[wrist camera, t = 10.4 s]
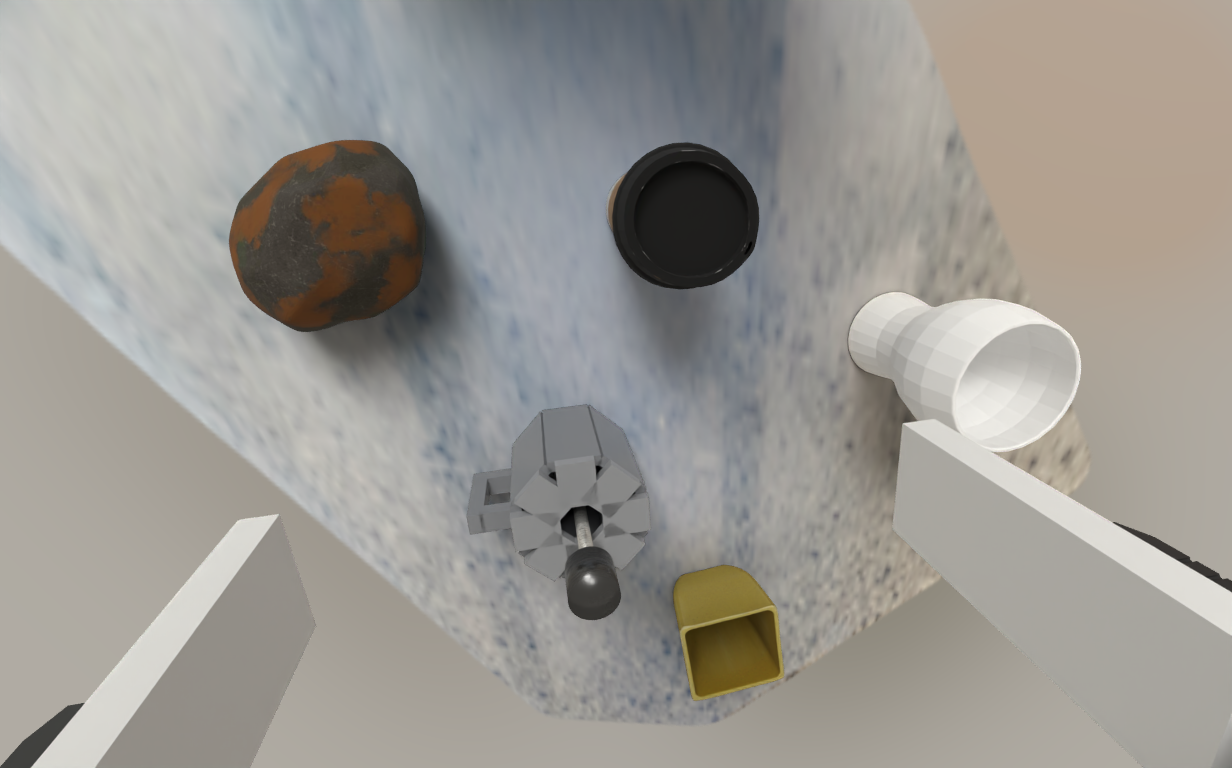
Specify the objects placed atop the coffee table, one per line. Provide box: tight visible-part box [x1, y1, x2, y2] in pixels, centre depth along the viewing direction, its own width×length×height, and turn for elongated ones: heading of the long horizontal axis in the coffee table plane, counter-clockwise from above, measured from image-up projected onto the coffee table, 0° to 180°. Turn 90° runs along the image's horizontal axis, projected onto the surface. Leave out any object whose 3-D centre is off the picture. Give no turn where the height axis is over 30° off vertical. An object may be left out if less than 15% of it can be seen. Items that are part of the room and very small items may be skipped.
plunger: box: [548, 465, 621, 620], centre depth 43 cm, size 6×6×17 cm
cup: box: [848, 292, 1081, 452], centre depth 46 cm, size 11×11×15 cm
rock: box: [229, 140, 426, 332], centre depth 39 cm, size 14×11×10 cm
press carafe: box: [466, 404, 651, 581], centre depth 47 cm, size 10×13×11 cm
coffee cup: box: [606, 143, 759, 289], centre depth 39 cm, size 8×8×15 cm
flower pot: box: [673, 565, 784, 701], centre depth 55 cm, size 9×9×9 cm
